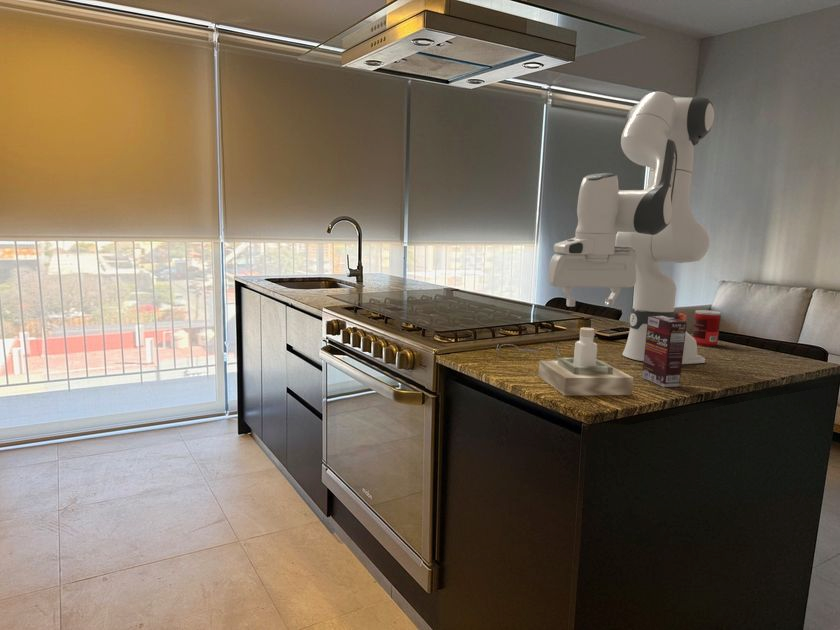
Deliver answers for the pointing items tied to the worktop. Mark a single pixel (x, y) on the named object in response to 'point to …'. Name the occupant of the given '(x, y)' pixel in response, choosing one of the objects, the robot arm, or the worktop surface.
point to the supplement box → (664, 350)
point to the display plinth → (585, 378)
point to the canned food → (706, 327)
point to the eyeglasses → (530, 350)
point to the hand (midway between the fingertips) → (590, 306)
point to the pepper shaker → (585, 348)
